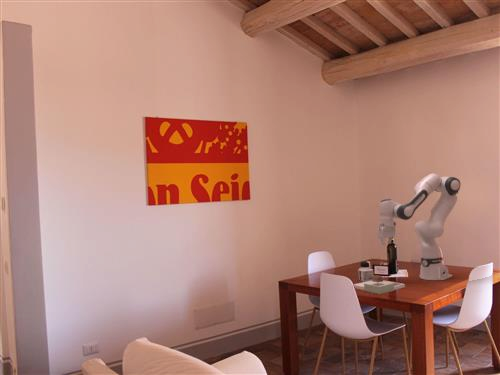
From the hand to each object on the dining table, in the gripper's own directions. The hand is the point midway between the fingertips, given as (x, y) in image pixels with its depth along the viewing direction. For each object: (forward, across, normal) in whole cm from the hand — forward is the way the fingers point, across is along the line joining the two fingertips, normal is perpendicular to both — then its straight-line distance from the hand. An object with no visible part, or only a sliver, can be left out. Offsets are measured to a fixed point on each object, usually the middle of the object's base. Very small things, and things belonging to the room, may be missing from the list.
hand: (386, 244), depth 305 cm
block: (+24, -4, +4) cm, 25 cm away
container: (+27, +4, +16) cm, 31 cm away
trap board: (+26, -13, 0) cm, 30 cm away
